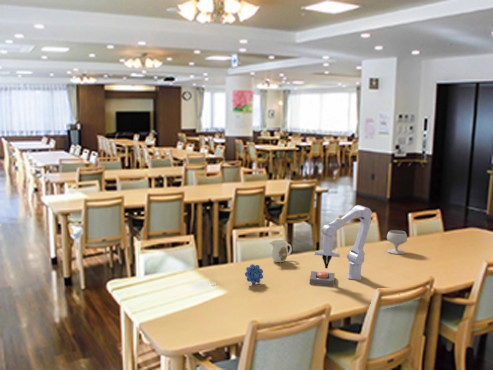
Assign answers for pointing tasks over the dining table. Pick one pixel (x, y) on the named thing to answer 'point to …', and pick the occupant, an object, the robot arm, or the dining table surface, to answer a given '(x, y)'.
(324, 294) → the dining table surface
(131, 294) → the dining table surface
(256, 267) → the grapes
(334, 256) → the robot arm
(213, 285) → the paper
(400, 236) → the chalice
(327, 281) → the button housing
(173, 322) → the dining table surface
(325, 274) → the button
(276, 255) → the pitcher
